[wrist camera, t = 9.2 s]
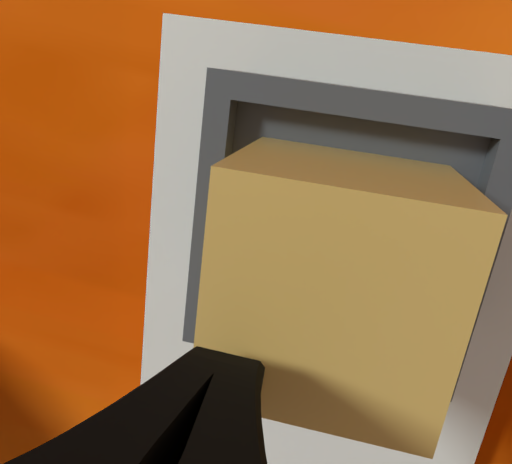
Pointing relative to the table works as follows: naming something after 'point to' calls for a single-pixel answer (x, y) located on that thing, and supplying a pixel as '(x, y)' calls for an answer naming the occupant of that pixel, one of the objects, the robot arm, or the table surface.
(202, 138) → the charcoal base block
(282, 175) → the ochre block
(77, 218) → the table surface
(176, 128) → the build board
